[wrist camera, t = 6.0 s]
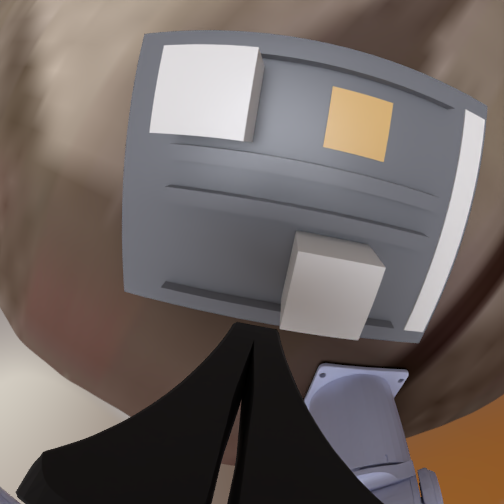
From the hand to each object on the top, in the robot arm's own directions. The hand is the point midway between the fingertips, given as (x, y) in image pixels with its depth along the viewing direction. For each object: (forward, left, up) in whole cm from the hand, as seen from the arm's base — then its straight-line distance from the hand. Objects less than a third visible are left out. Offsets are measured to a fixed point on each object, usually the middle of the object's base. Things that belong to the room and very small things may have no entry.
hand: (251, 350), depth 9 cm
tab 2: (0, -3, -7) cm, 8 cm away
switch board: (+4, -1, -9) cm, 10 cm away
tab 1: (+8, +4, -7) cm, 11 cm away
